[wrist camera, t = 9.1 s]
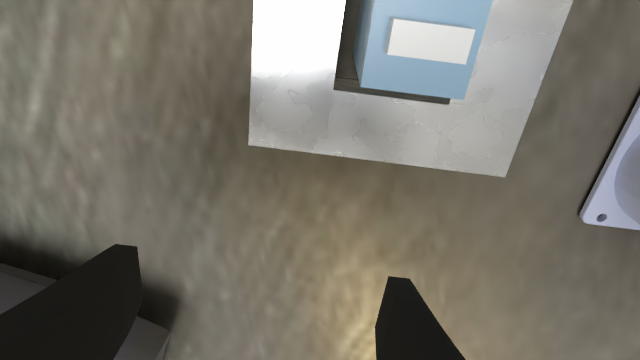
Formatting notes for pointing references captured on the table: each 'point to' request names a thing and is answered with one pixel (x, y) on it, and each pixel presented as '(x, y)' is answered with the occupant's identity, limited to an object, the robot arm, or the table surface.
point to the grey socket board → (396, 107)
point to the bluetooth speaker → (18, 285)
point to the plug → (419, 45)
